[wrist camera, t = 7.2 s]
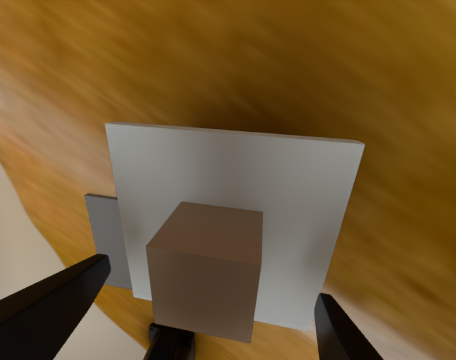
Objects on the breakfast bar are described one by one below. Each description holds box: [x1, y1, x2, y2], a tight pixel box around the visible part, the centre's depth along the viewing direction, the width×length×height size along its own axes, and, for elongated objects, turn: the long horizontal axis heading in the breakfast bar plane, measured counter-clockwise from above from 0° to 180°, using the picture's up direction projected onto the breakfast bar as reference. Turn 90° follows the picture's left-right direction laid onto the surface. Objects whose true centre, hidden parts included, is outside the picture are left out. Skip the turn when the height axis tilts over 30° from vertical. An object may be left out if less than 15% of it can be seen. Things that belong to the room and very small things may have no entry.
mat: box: [84, 194, 132, 290], centre depth 25 cm, size 13×13×1 cm
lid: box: [105, 121, 365, 343], centre depth 10 cm, size 11×11×4 cm
